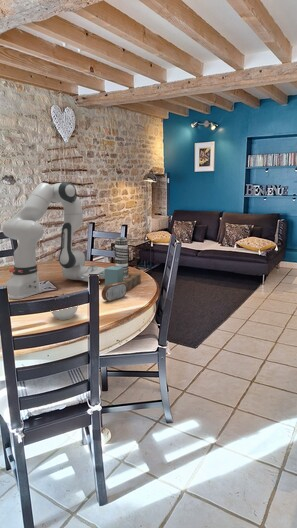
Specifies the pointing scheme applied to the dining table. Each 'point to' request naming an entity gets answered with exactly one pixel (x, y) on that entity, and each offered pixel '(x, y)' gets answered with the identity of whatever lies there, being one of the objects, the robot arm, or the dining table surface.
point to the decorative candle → (122, 254)
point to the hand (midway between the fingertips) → (108, 275)
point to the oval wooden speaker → (114, 291)
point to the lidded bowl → (64, 311)
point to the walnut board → (132, 281)
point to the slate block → (113, 275)
